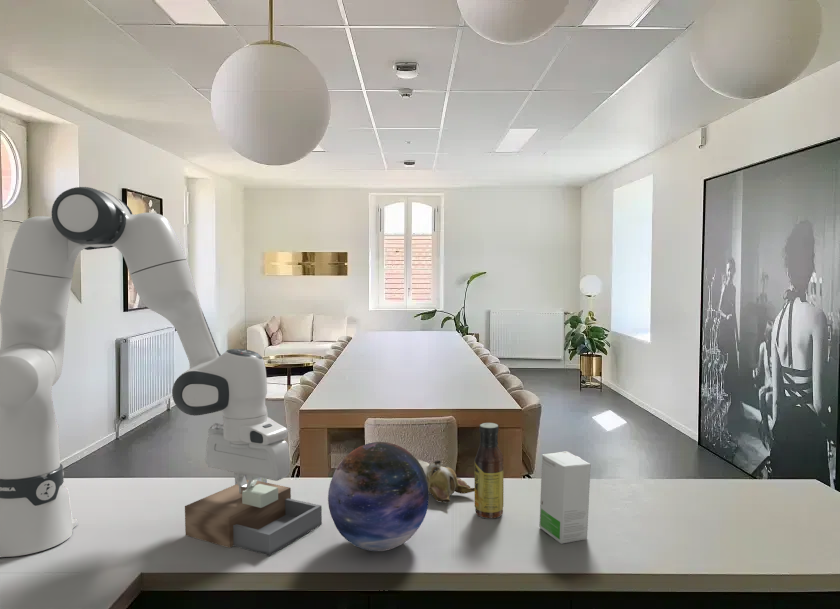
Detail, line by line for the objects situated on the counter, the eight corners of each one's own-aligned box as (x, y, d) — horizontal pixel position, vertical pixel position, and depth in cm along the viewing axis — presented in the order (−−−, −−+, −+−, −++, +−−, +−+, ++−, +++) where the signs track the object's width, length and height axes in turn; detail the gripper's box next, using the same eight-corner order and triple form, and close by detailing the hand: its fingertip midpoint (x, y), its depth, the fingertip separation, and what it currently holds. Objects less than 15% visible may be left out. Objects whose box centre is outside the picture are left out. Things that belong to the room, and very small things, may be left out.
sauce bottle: (478, 507, 139) (478, 419, 138) (506, 510, 137) (506, 421, 136) (470, 518, 133) (471, 426, 132) (499, 522, 131) (500, 429, 129)
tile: (242, 503, 126) (242, 491, 126) (259, 495, 130) (259, 483, 130) (261, 507, 123) (261, 495, 123) (278, 499, 128) (278, 487, 128)
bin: (233, 545, 120) (233, 525, 120) (288, 516, 134) (287, 498, 134) (269, 555, 116) (269, 534, 116) (321, 524, 130) (321, 505, 130)
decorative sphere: (307, 557, 115) (306, 451, 114) (363, 518, 133) (363, 426, 132) (398, 580, 107) (398, 465, 105) (445, 535, 125) (445, 436, 123)
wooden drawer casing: (185, 535, 125) (184, 506, 124) (249, 504, 141) (248, 478, 140) (229, 547, 119) (229, 517, 119) (291, 514, 135) (290, 487, 135)
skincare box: (538, 528, 128) (539, 453, 127) (566, 523, 130) (566, 450, 129) (562, 545, 120) (562, 465, 119) (590, 539, 122) (591, 461, 121)
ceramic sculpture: (432, 447, 154) (479, 464, 144) (431, 481, 155) (477, 500, 145) (401, 457, 147) (448, 476, 136) (400, 493, 148) (446, 514, 137)
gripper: (197, 425, 130) (198, 490, 131) (273, 437, 120) (274, 507, 121) (220, 419, 135) (221, 481, 136) (294, 430, 126) (295, 497, 127)
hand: (246, 493), depth 129 cm, fingers closed
